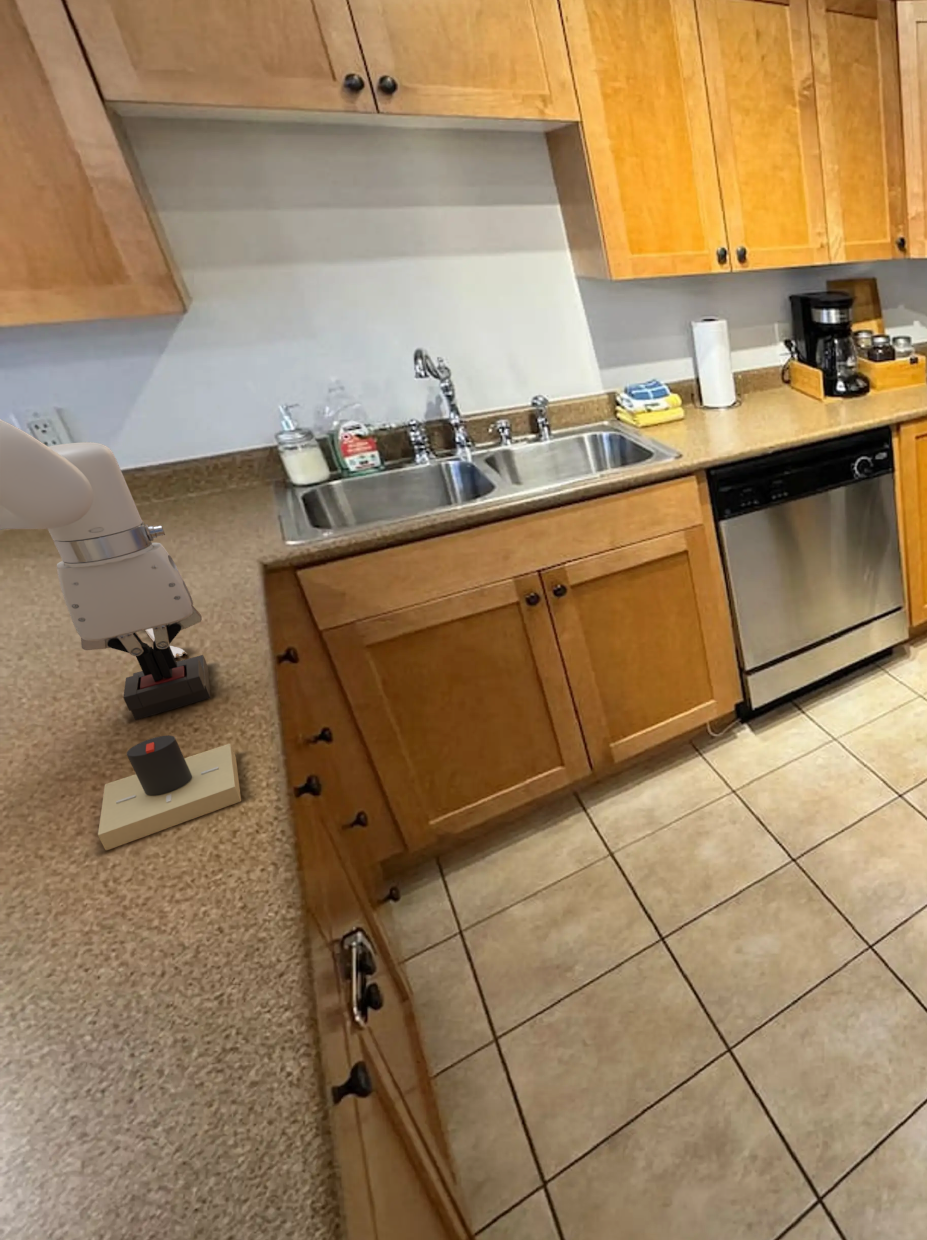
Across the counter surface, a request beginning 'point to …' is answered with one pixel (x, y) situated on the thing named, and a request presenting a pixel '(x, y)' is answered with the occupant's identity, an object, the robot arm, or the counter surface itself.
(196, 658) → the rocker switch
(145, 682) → the red rectangular block
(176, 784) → the timer knob
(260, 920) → the counter surface
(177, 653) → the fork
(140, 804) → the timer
